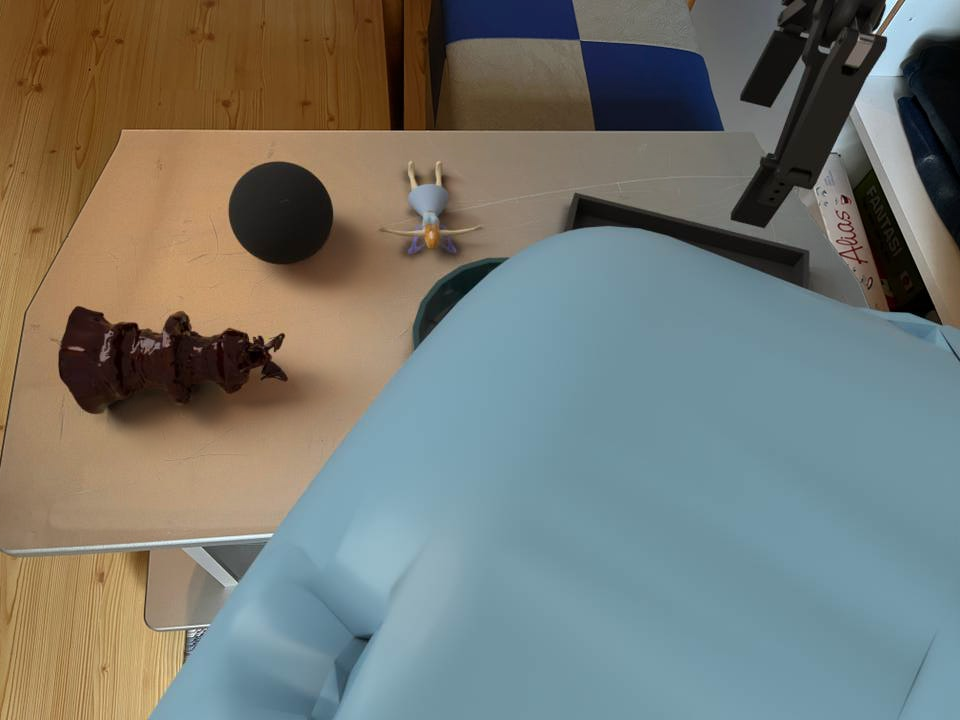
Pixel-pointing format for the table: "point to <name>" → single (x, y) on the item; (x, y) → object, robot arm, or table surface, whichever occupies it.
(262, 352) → the figurine
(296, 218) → the speaker
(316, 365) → the table surface
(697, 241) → the tray
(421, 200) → the fairy figurine
